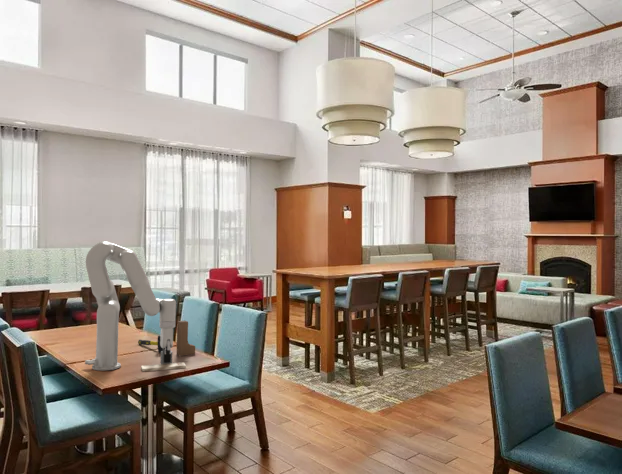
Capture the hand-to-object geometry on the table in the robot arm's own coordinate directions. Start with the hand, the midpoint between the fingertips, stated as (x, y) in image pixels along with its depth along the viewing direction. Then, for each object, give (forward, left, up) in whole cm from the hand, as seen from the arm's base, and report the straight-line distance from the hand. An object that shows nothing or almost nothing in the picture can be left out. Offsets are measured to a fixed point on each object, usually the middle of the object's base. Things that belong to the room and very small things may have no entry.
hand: (166, 360), depth 240 cm
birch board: (-2, -6, -2) cm, 7 cm away
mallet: (-2, +37, -2) cm, 37 cm away
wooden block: (+13, +18, -2) cm, 22 cm away
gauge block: (0, 0, -2) cm, 2 cm away
